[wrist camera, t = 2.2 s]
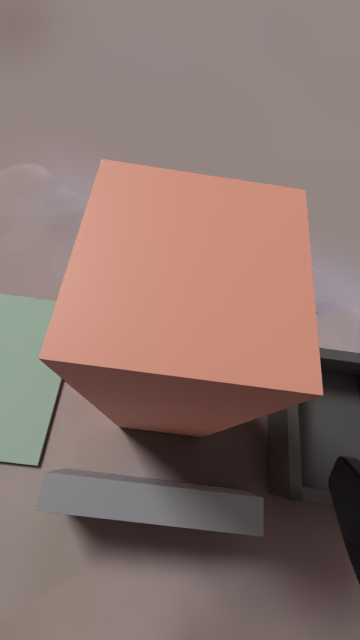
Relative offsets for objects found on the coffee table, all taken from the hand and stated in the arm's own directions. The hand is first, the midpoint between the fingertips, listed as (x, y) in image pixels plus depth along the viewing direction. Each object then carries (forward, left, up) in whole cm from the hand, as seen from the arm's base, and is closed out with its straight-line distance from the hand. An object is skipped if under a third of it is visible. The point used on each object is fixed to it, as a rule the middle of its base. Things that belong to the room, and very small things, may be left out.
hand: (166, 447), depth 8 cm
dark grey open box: (-3, -10, -11) cm, 15 cm away
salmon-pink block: (+3, -2, -11) cm, 11 cm away
